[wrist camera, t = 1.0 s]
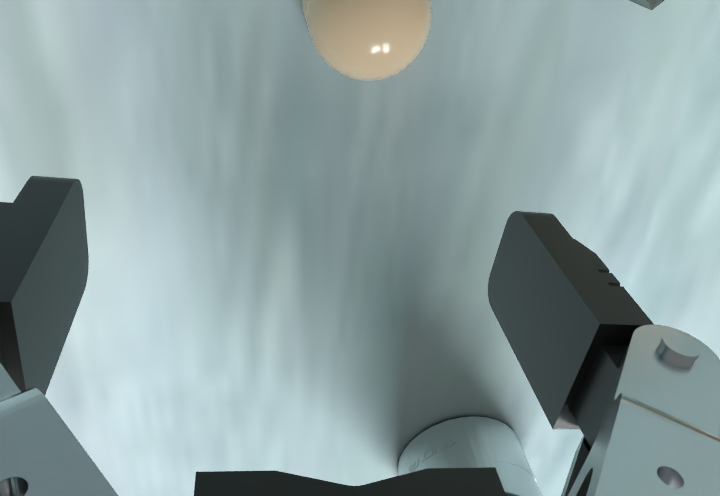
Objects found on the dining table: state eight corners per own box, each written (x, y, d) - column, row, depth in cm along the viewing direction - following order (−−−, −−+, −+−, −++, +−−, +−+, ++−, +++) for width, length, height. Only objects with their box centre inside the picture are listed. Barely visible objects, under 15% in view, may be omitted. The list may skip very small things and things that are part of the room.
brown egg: (433, 3, 29) (470, 38, 24) (350, 75, 30) (369, 123, 25) (365, -92, 26) (391, -74, 21) (277, -9, 28) (283, 26, 23)
